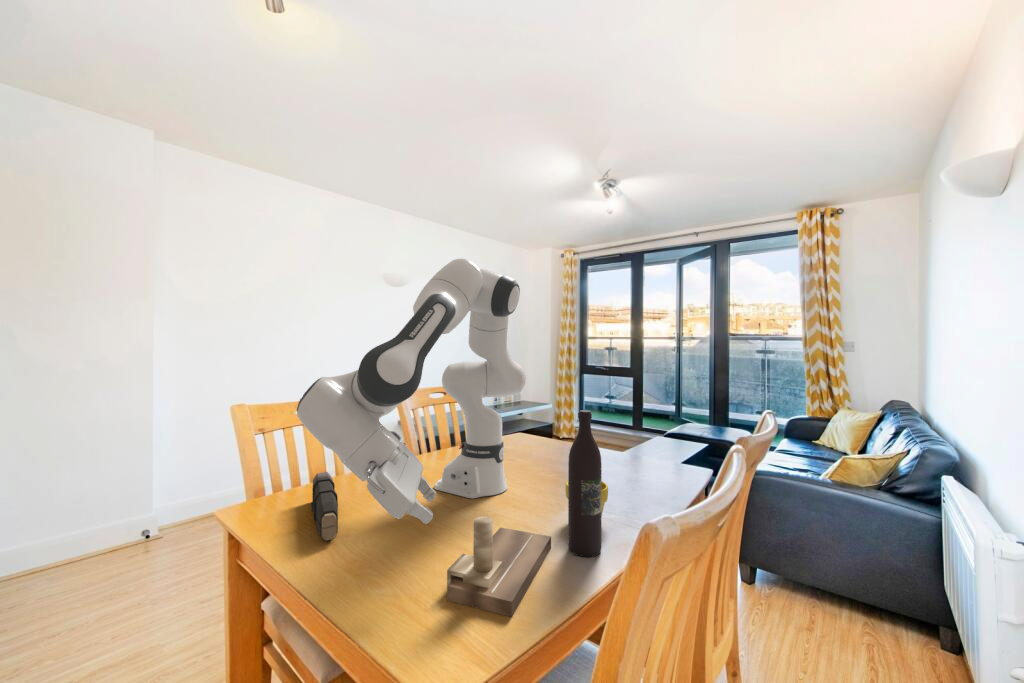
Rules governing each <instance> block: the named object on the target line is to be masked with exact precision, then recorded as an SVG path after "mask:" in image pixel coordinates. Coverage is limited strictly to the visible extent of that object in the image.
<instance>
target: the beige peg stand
mask: <svg viewBox="0 0 1024 683" xmlns="http://www.w3.org/2000/svg"><path fill="white" fill-rule="evenodd" d="M493 522H494V520H493V518H492V517H489V516H477V517H476V518H474V519H473V545H472V546H473V547H472V548H473V549H472V550H473V554H472V555H470V554H466V553H462V554H461V555H460V556H459V557H458V558H457V559H456V560H455V561H454V562H453V563H452V564H451V565H450V566H449V567H448V568H447V570H446V587H447V586H448V585H449V584H450V582H451V581H452V580H453V579H454V578H455V577H456V576H458V577H462V578H463V582H465V583H469V584H473V585H478V586H482V587H486V588H489V587H490V586H491V585H492V583H493V582H494V580H495V579H496V578H497V576H498V575H499V574H500V572H501V571H502V562H500V561H495V560H493V535H494V523H493Z"/></svg>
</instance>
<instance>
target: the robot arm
mask: <svg viewBox="0 0 1024 683" xmlns="http://www.w3.org/2000/svg"><path fill="white" fill-rule="evenodd" d="M520 293H521V289H520V286H519V284H518V282H517V280H516V279H515V278H512V277H510V276H509V275H506V274H503V275H502V274H500V273H497V272H495V271H491V270H488V269H485V268H480V267H479V266H477V265H476V264H475V263H474V262H473V261H471V260H469V259H466V258H454V259H453V260H451V261H450V262H448V263H447V264H445V265H444V266H443V267H441V268H440V269H439V270H438V271H437V272H436V273H435V274H434V275H433V276H432V277H431V278H430V279H429V281H428V282H426V284H425V286H424V287H423V288H422V289H421V291H420V293H419V294H418V295H417V298H416V300H415V301H414V304H413V306H412V309H413V310H412V312H413V315H412V316H411V318H410V319H409V320H408V321H407V323H406V324H405V325H404V326H403V328H402V329H401V330H400V331H399V333H397V335H395V337H393V338H392V339H390V340H388V341H386V342H383V343H381V344H379V345H376V346H374V347H373V348H371V349H370V350H368V352H366V354H365V355H364V356H363V358H362V359H361V361H360V363H359V366H358V369H356V370H354V371H351V372H348V373H345V374H340V375H335V376H321V377H320V378H317V379H316V380H315V381H313V383H312V384H311V385H310V386H309V387H308V388H307V390H306V391H305V392H304V393H303V395H302V397H301V398H300V399H299V401H298V404H297V407H296V415H297V418H298V420H299V421H300V422H301V424H302V425H303V426H304V428H305V429H306V430H307V431H308V432H309V433H310V434H311V435H312V436H313V437H314V438H315V439H316V440H317V441H318V442H319V443H320V444H321V445H322V446H324V447H325V448H327V449H329V450H331V451H332V452H334V453H335V454H336V455H337V457H338V460H340V462H341V463H342V464H343V465H344V466H345V467H346V468H347V469H348V470H349V471H351V472H352V473H353V474H354V475H355V476H356V477H357V478H359V480H360V481H361V482H365V481H366V482H367V484H366V489H367V491H368V492H369V493H370V494H371V496H372V497H373V498H374V499H375V501H377V502H378V504H379V505H380V506H381V507H382V508H383V509H384V510H385V511H386V512H387V513H388V514H389V515H390V516H391V517H393V518H395V519H398V520H401V519H402V518H403V517H404V516H405V515H406V514H408V515H410V516H412V517H414V518H416V519H419V520H420V521H421V522H422V523H423V524H425V525H427V524H429V523H430V522H431V521H432V520H433V518H434V512H433V511H432V510H431V509H430V508H429V507H428V506H426V507H425V506H424V505H422V504H421V503H420V501H419V499H417V495H418V491H419V492H420V493H421V494H422V495H423V496H422V497H423V498H424V499H425V500H426V501H427V502H432V501H433V500H434V499H435V498H436V496H437V495H436V494H437V492H436V490H437V491H440V492H445V493H447V494H451V495H456V496H459V497H463V498H467V499H477V498H481V497H488V496H494V495H499V494H501V493H504V492H505V491H506V490H507V489H508V484H507V480H506V476H505V470H504V458H505V448H504V447H505V445H504V441H503V418H502V416H501V414H500V413H499V412H498V411H496V410H494V409H493V408H491V407H488V406H486V405H485V404H484V403H483V399H484V398H506V397H510V396H514V395H518V394H520V393H522V392H523V390H524V388H525V386H526V383H527V382H526V381H527V377H526V376H527V375H526V372H525V369H524V368H523V367H522V366H521V364H519V363H518V362H516V361H515V360H514V359H513V358H512V357H511V355H510V353H509V350H508V327H509V316H510V315H511V314H513V313H514V312H515V310H516V309H517V306H518V304H519V301H520ZM469 312H470V313H469ZM468 313H469V326H468V327H469V328H468V346H469V348H470V350H471V351H472V352H473V353H474V354H475V355H477V356H478V357H480V358H482V359H485V360H486V361H461V362H460V361H459V362H455V363H451V364H448V365H447V366H446V368H445V369H444V370H443V373H442V377H441V384H442V387H443V389H444V391H445V392H446V394H447V395H449V396H450V397H451V398H452V399H454V401H456V403H457V404H458V405H459V406H460V409H461V410H462V412H463V415H464V419H465V430H466V431H465V432H466V433H465V434H466V437H465V438H466V439H465V441H464V442H462V443H461V444H460V445H459V446H458V450H460V449H461V452H460V454H458V455H457V456H455V458H453V459H452V460H451V461H449V462H448V463H447V464H446V465H445V466H444V468H443V470H442V475H441V478H440V479H438V480H437V481H436V482H435V484H434V489H433V487H431V486H430V484H429V483H428V481H427V479H426V478H425V477H424V476H423V475H422V474H423V471H424V466H423V464H422V462H421V461H420V459H419V458H418V457H417V456H416V455H415V453H413V452H412V451H411V449H410V448H409V447H408V446H407V445H406V444H404V443H403V442H402V441H401V440H402V437H401V436H400V435H399V434H398V433H397V432H396V431H392V430H389V429H387V428H386V427H385V426H384V425H383V424H382V423H381V422H380V418H382V417H384V416H386V415H388V414H390V413H392V412H393V411H395V409H397V408H398V406H400V405H401V404H402V403H403V402H404V401H406V400H408V399H410V397H412V396H413V395H414V394H415V393H416V391H417V390H418V389H419V386H420V383H421V380H422V377H423V370H424V369H423V368H424V363H425V361H426V358H427V356H428V355H429V354H430V352H431V350H432V349H433V347H434V346H435V344H437V342H438V341H439V338H441V336H442V335H448V334H449V333H451V332H452V331H453V330H454V329H456V328H457V326H458V325H459V324H460V323H461V322H462V321H463V320H464V319H465V317H466V316H467V315H468Z"/></svg>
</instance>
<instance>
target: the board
mask: <svg viewBox="0 0 1024 683" xmlns="http://www.w3.org/2000/svg"><path fill="white" fill-rule="evenodd" d="M551 549H552V536H551V535H545V534H540V533H539V534H538V533H533V532H530V531H529V532H528V531H522V530H516V529H512V528H511V529H510V528H505V527H499V528H498V530H496V532H494V533H493V560H495V561H500V562H502V571H501V572H500V574H499V575H498V576H497V578H496V579H495V580H494V582H493V583H492V585H491V586H490V587H489V588H486V587H482V586H478V585H473V584H469V583H465V582H463V578H462V577H458V576H456V577H455V578H454V579H453V580H452V581H451V582H450V584H449V585H448V586H447V585H446V589H447V590H446V591H447V592H446V593H447V594H446V595H447V596H446V600H447V601H449V602H453V603H456V604H460V605H464V606H467V607H472V608H476V609H479V610H484V611H487V612H491V613H494V614H498V615H502V616H506V617H510V618H513V616H514V614H515V613H516V611H517V609H518V607H519V606H520V603H521V601H522V600H523V598H524V597H525V594H526V593H527V591H528V589H529V588H530V586H531V584H532V582H533V580H534V579H535V577H536V575H537V573H538V572H539V570H540V568H541V566H542V564H543V563H544V561H545V560H546V558H547V556H548V554H549V553H550V550H551Z"/></svg>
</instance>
